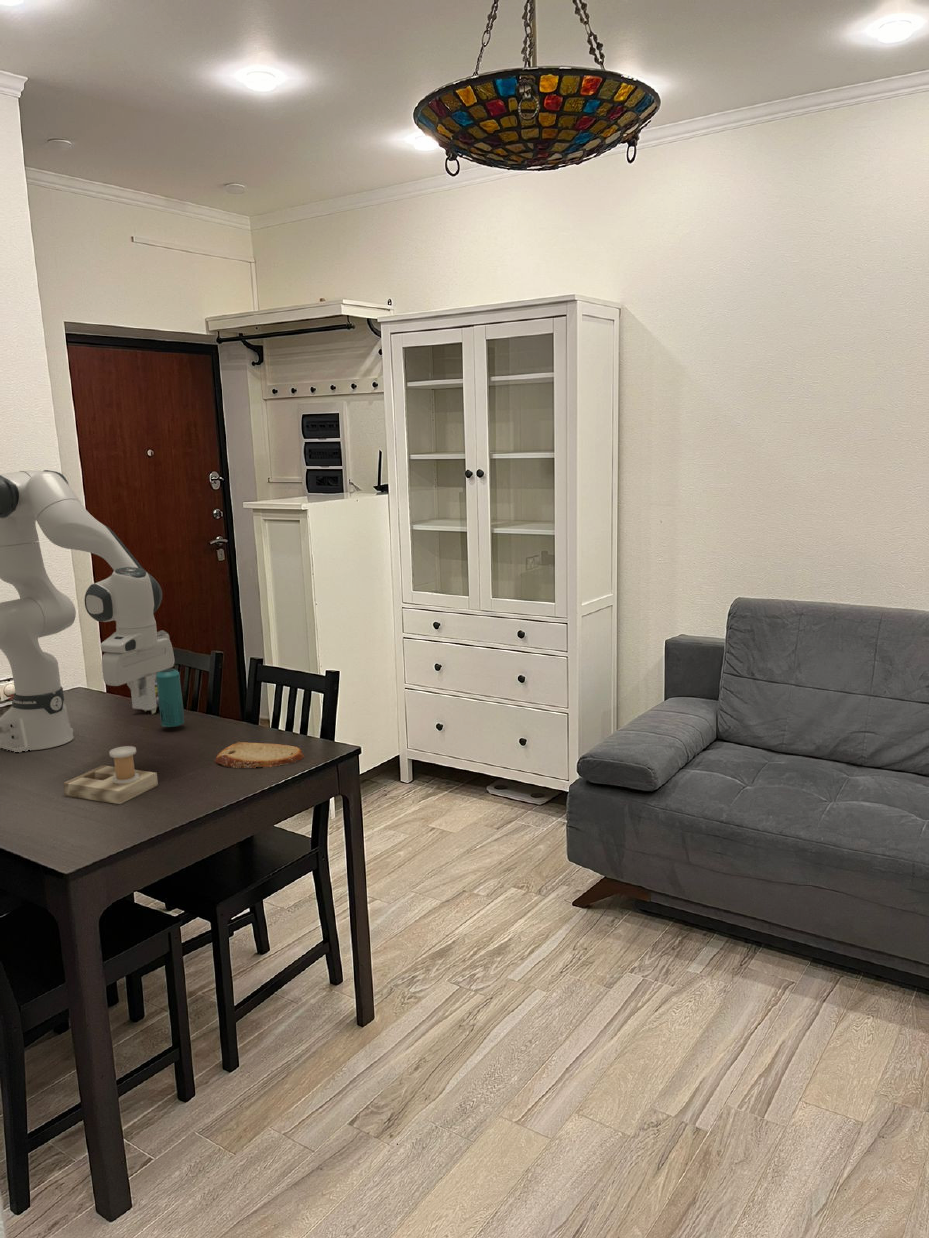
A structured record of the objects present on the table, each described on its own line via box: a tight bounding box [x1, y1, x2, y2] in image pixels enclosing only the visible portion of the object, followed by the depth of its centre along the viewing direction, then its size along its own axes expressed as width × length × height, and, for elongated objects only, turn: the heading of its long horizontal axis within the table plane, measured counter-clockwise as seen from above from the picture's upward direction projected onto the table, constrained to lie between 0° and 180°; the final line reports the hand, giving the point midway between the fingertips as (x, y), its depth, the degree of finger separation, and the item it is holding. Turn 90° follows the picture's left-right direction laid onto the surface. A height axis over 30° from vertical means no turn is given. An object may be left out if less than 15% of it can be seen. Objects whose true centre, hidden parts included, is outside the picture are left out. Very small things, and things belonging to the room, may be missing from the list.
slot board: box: [63, 765, 159, 805], centre depth 214 cm, size 16×12×3 cm
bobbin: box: [109, 745, 139, 785], centre depth 211 cm, size 6×6×7 cm
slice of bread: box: [214, 741, 305, 769], centre depth 232 cm, size 18×18×4 cm
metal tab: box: [130, 674, 158, 711], centre depth 222 cm, size 5×2×8 cm, turn 67°
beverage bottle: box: [156, 663, 186, 728], centre depth 257 cm, size 6×7×20 cm
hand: (143, 694), depth 222 cm, fingers closed on metal tab, 2 cm apart
